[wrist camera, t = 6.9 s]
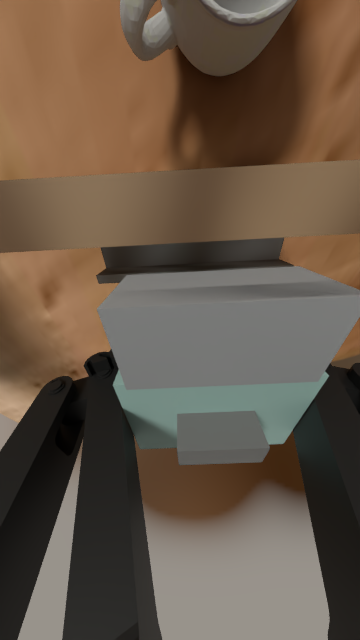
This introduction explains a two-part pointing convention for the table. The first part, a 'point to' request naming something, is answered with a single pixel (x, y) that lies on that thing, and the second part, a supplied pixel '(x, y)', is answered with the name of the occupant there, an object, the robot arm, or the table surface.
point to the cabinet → (223, 356)
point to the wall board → (182, 215)
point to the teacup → (204, 30)
